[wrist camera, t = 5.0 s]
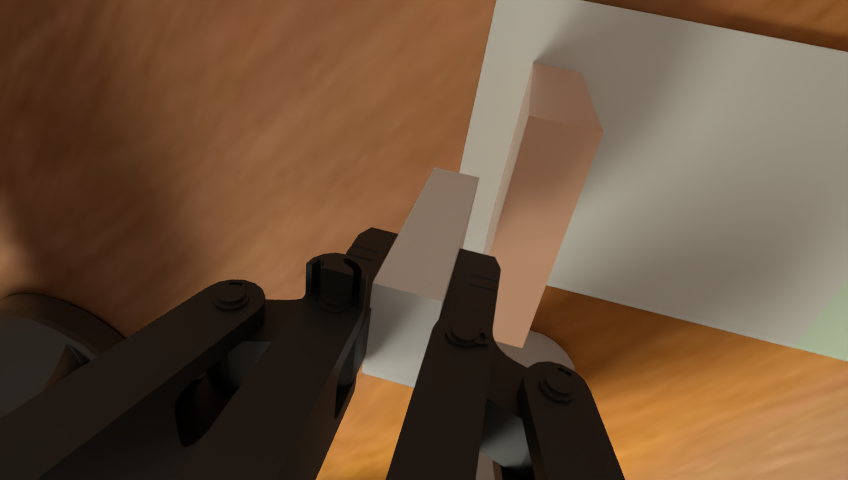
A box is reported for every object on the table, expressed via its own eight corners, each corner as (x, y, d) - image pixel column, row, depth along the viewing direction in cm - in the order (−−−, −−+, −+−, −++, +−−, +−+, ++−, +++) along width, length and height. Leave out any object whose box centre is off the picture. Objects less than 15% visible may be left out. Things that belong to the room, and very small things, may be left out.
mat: (442, 253, 26) (440, 258, 25) (500, -16, 19) (499, -16, 18) (958, 384, 23) (965, 392, 23) (1245, 129, 16) (1264, 133, 16)
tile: (488, 227, 24) (467, 333, 17) (532, 62, 19) (528, 115, 13) (528, 237, 23) (523, 348, 17) (582, 72, 19) (605, 132, 12)
